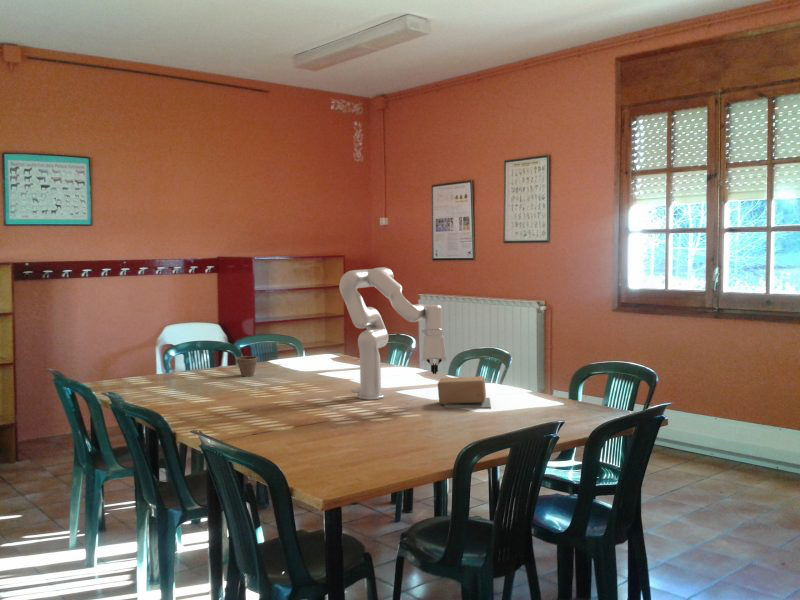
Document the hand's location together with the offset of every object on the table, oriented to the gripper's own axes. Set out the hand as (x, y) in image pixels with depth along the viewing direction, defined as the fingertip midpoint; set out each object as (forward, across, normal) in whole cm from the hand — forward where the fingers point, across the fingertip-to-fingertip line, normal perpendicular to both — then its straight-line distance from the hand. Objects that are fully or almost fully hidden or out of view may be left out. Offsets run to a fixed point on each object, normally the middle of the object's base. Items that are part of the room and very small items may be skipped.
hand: (434, 373), depth 343 cm
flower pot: (+12, -106, +68) cm, 126 cm away
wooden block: (+8, +2, 0) cm, 8 cm away
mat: (+13, +14, 0) cm, 20 cm away
